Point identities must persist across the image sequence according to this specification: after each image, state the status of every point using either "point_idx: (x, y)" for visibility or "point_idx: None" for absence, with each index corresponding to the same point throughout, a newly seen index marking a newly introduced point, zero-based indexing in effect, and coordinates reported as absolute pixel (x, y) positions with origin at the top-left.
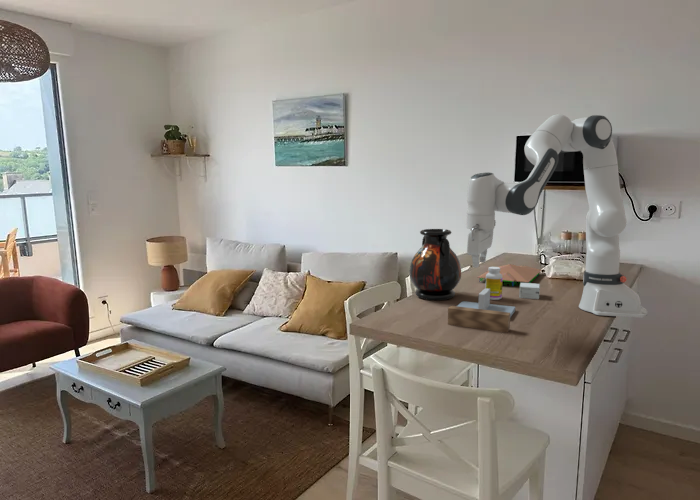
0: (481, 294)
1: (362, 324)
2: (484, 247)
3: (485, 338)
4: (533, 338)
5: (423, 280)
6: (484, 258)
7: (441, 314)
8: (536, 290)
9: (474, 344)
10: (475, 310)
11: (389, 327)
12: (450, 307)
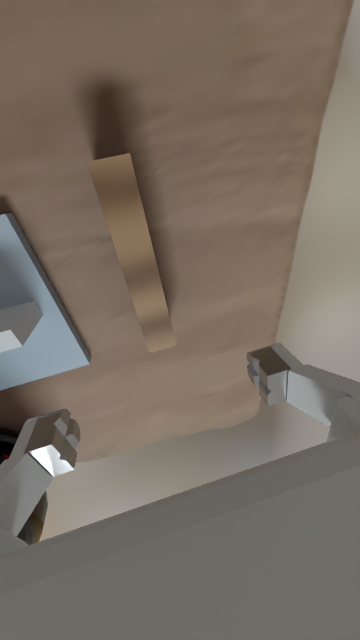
0: (16, 338)
1: (251, 410)
2: (263, 547)
3: (215, 197)
4: (126, 37)
5: (42, 497)
6: (55, 438)
7: (112, 370)
8: None
9: (268, 201)
10: (149, 281)
11: (245, 379)
12: (166, 345)
